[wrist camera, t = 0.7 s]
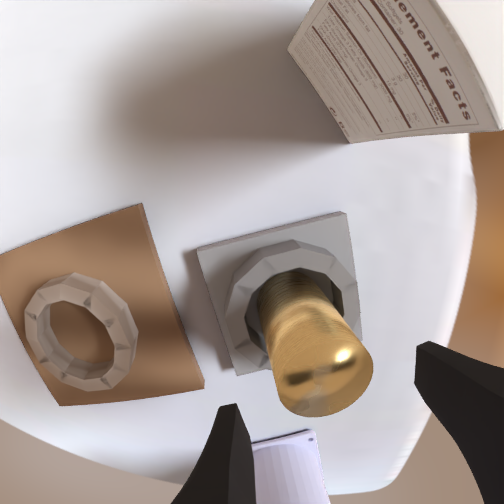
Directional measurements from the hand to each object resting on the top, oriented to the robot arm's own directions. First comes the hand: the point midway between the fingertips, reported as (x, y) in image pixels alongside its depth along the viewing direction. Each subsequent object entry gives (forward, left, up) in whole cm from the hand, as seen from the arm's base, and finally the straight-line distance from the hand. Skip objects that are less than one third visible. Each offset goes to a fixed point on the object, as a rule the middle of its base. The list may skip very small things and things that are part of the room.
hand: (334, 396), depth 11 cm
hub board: (+1, +14, -10) cm, 17 cm away
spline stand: (0, 0, -10) cm, 10 cm away
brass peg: (0, 0, -9) cm, 9 cm away
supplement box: (+13, -8, -10) cm, 18 cm away
